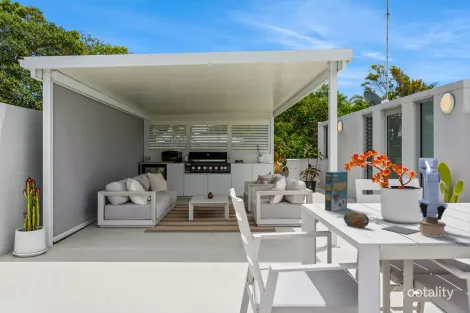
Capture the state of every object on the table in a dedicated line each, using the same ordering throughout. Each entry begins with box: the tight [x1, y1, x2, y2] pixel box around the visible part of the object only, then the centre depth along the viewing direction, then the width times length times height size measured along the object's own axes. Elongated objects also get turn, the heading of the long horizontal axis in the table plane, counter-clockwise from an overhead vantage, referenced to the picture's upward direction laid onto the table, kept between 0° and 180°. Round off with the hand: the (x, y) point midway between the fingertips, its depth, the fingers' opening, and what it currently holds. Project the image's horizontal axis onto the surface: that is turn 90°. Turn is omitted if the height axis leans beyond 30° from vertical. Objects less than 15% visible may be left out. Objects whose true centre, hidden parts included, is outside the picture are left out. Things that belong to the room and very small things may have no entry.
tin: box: [343, 211, 370, 229], centre depth 200 cm, size 15×3×8 cm, turn 45°
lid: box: [418, 216, 447, 228], centre depth 181 cm, size 13×13×4 cm
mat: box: [381, 225, 421, 236], centre depth 191 cm, size 15×15×1 cm
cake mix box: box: [324, 170, 349, 212], centre depth 262 cm, size 22×6×30 cm, turn 130°
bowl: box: [419, 224, 445, 238], centre depth 181 cm, size 11×11×6 cm
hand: (432, 218), depth 181 cm, fingers open, 7 cm apart
